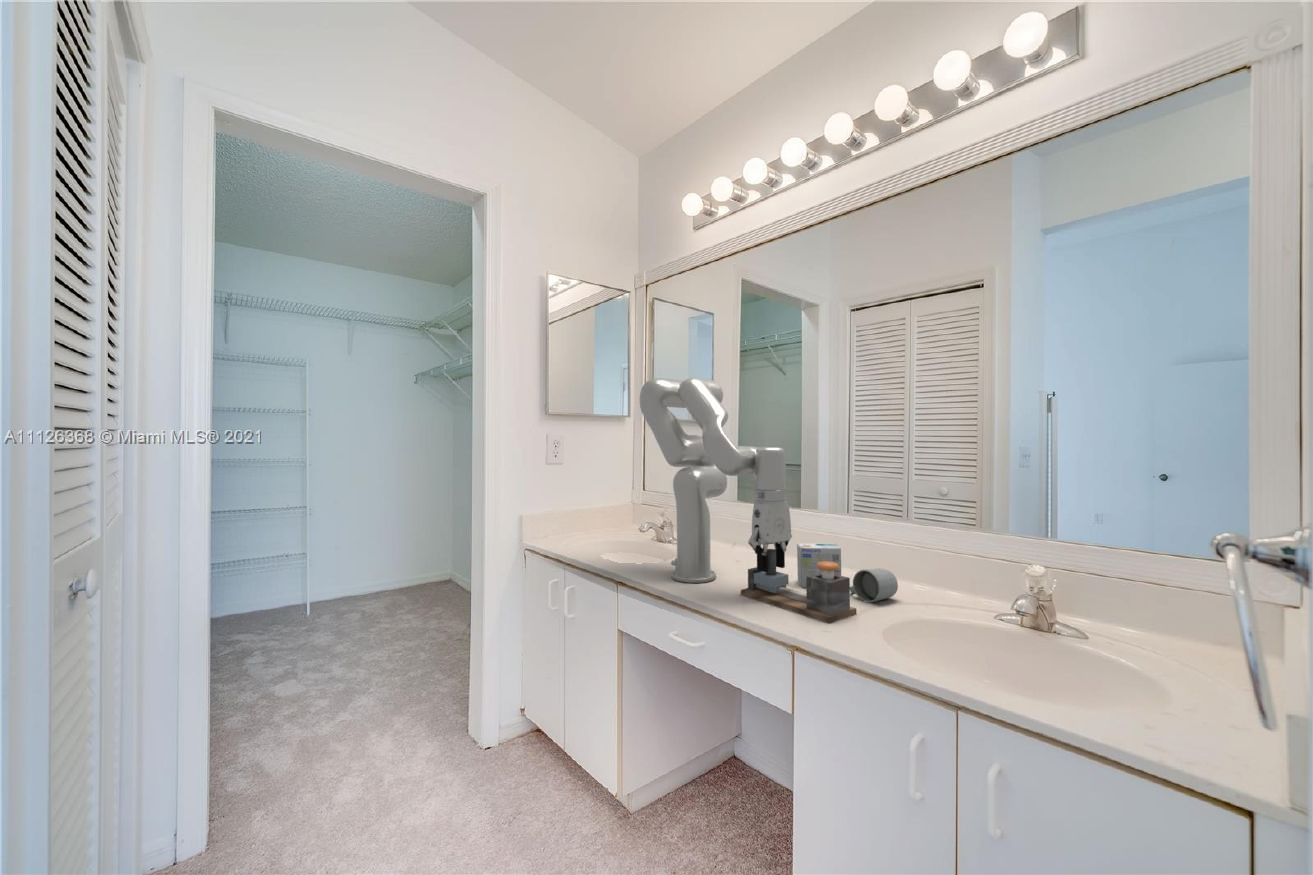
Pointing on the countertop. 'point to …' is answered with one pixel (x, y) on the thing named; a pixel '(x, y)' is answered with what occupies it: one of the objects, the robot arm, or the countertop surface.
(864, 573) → the ceramic mug
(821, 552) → the light bulb box
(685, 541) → the robot arm
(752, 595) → the rail board
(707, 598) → the countertop surface
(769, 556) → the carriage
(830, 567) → the button
